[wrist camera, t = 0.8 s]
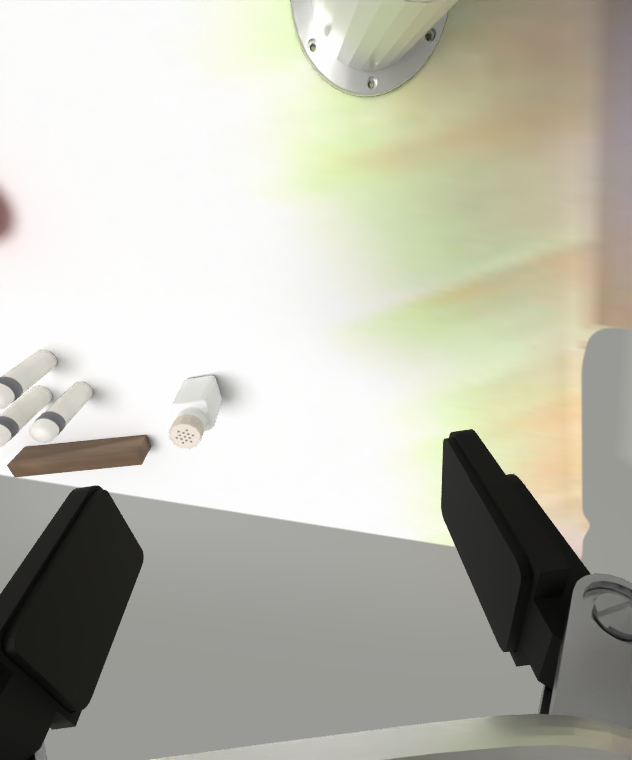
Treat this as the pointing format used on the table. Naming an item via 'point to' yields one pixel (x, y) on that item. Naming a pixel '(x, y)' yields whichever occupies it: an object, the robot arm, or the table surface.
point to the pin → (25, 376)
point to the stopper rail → (80, 456)
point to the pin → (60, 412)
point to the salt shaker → (194, 410)
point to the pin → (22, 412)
